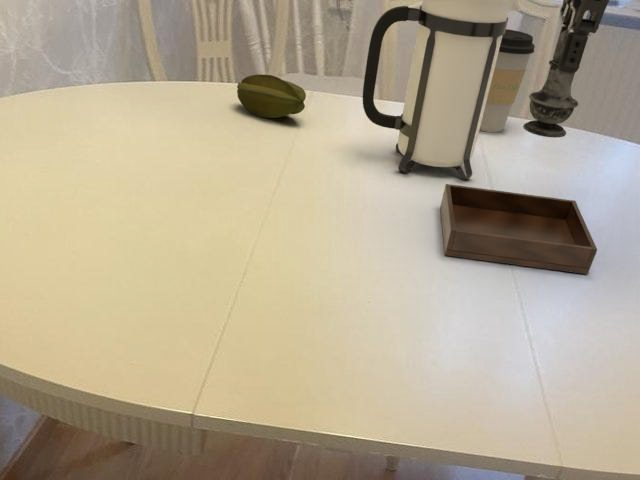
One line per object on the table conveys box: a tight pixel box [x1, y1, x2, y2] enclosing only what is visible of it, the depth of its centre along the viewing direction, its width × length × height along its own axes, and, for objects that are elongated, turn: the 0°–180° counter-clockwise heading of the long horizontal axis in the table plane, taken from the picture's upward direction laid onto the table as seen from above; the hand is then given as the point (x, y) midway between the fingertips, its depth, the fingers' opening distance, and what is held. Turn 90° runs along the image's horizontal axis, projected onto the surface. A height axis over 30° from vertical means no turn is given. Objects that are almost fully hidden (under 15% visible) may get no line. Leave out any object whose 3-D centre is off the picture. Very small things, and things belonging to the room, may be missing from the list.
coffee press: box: [362, 0, 522, 181], centre depth 110 cm, size 17×16×30 cm
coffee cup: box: [479, 28, 536, 133], centre depth 133 cm, size 9×9×15 cm
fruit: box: [236, 74, 307, 119], centre depth 130 cm, size 11×12×7 cm
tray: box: [440, 183, 598, 275], centre depth 100 cm, size 18×16×3 cm
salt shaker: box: [522, 29, 581, 139], centre depth 90 cm, size 6×6×12 cm
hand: (564, 66), depth 89 cm, fingers closed on salt shaker, 3 cm apart
